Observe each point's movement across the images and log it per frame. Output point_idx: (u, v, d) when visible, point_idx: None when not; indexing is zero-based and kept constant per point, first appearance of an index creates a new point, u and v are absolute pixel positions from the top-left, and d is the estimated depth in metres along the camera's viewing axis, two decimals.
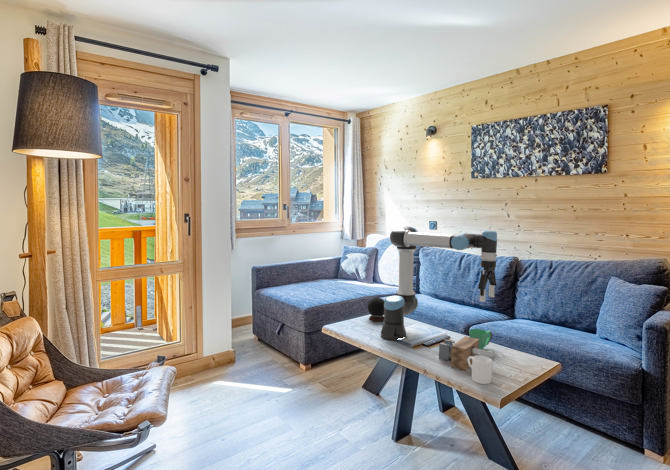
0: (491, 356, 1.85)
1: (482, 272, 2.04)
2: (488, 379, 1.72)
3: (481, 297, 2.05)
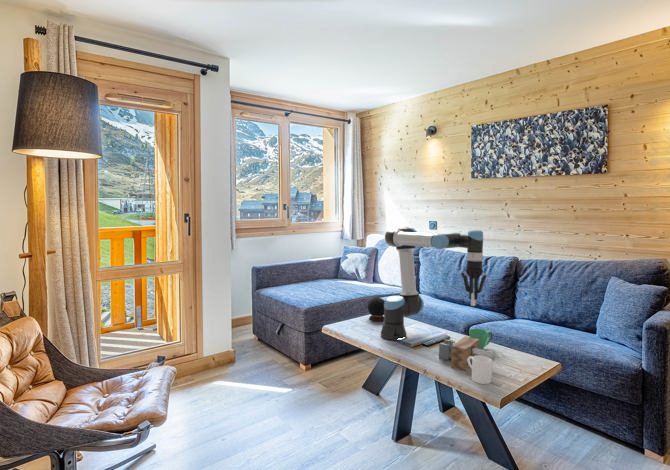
0: (491, 356, 1.85)
1: None
2: (488, 379, 1.72)
3: None
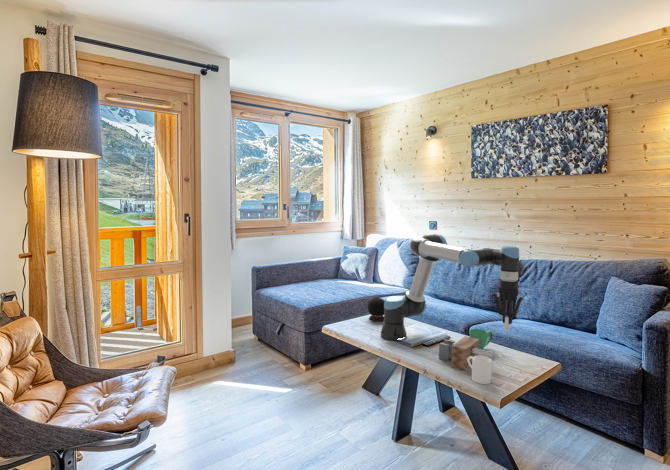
0: (491, 356, 1.85)
1: None
2: (488, 379, 1.72)
3: None
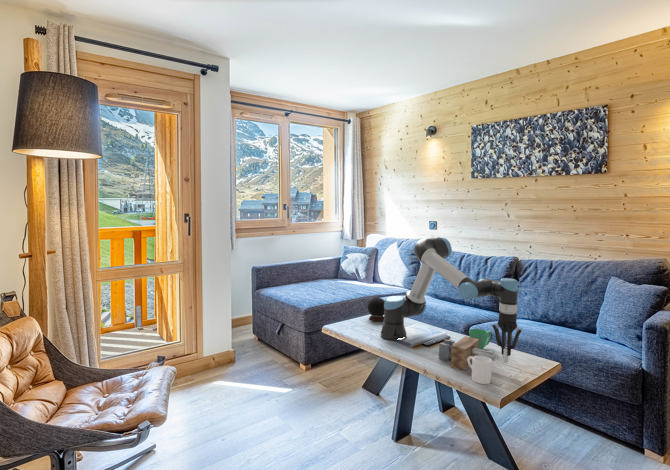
0: (491, 356, 1.85)
1: None
2: (488, 379, 1.72)
3: None
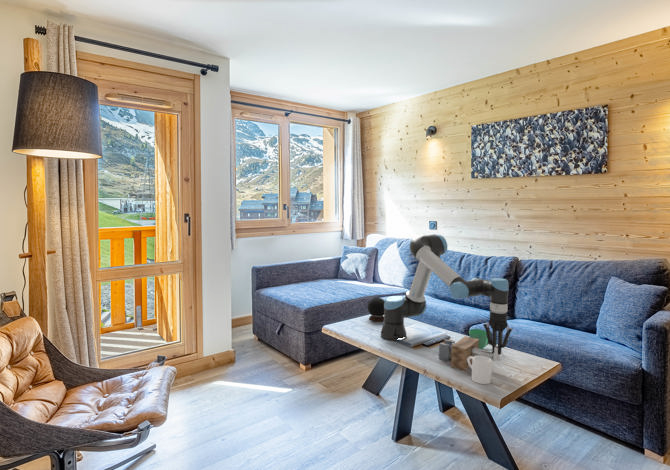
0: (490, 356, 1.85)
1: None
2: (488, 379, 1.72)
3: None
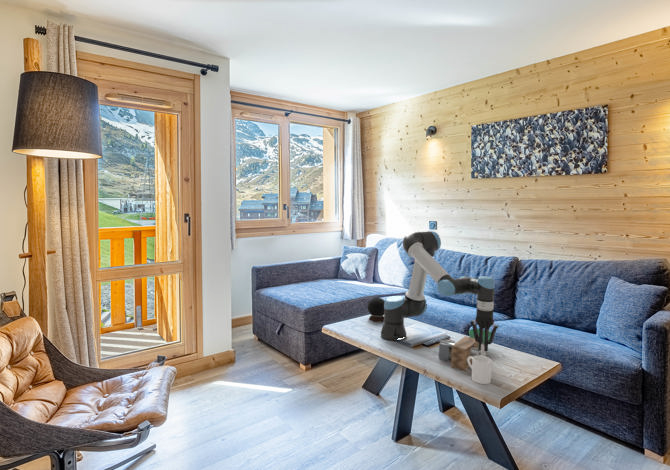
0: (477, 353, 1.89)
1: None
2: (488, 379, 1.72)
3: None
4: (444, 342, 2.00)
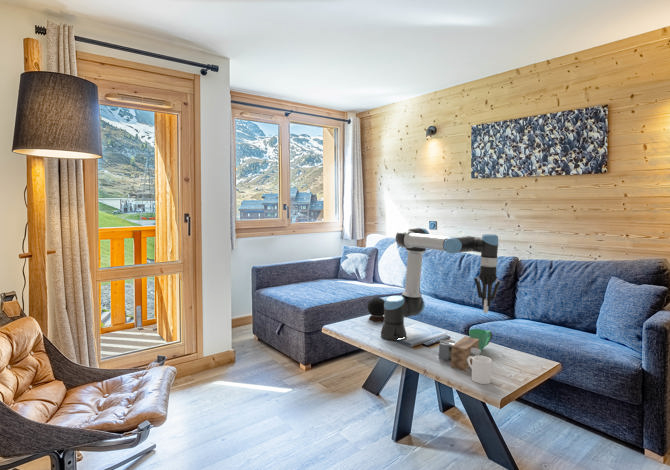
0: (477, 353, 1.89)
1: None
2: (488, 379, 1.72)
3: None
4: (444, 342, 2.00)
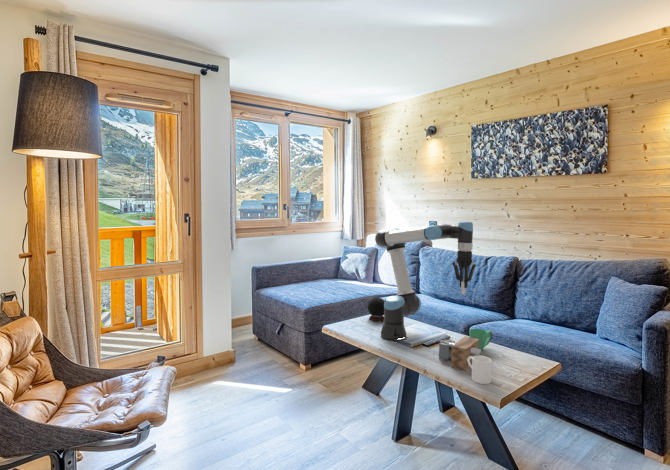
0: (477, 353, 1.89)
1: None
2: (488, 379, 1.72)
3: None
4: (444, 342, 2.00)
